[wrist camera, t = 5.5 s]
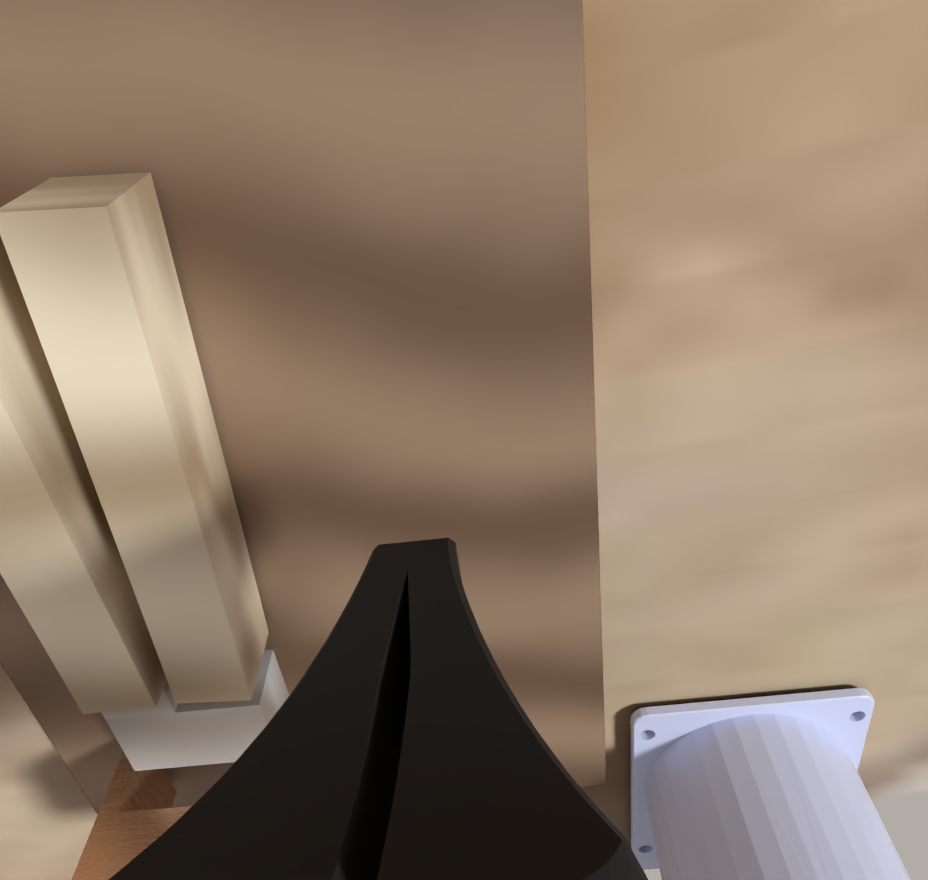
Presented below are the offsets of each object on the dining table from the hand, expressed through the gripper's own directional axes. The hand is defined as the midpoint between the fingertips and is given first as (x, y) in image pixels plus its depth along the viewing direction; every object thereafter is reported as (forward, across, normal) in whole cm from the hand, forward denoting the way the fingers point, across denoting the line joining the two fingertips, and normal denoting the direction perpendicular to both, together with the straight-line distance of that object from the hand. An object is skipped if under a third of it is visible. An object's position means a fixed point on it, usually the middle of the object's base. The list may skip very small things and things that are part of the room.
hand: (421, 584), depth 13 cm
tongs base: (+7, +5, +3) cm, 9 cm away
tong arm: (+6, +6, 0) cm, 9 cm away
